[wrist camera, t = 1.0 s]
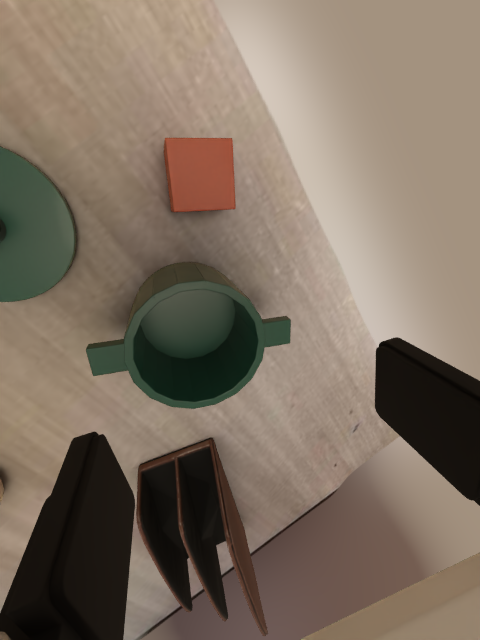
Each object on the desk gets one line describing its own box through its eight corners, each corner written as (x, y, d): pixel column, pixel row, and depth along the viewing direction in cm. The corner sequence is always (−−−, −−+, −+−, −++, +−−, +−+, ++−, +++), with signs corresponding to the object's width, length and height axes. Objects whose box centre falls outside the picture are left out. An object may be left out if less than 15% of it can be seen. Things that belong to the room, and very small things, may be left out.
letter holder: (212, 436, 38) (240, 551, 25) (243, 525, 46) (275, 646, 33) (137, 464, 36) (125, 603, 23) (182, 551, 44) (192, 689, 31)
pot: (92, 270, 27) (66, 294, 19) (261, 255, 31) (296, 270, 23) (117, 373, 31) (104, 427, 23) (263, 349, 35) (292, 388, 27)
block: (163, 150, 25) (164, 137, 20) (219, 150, 26) (232, 138, 21) (171, 211, 27) (173, 212, 22) (223, 209, 28) (235, 209, 23)
